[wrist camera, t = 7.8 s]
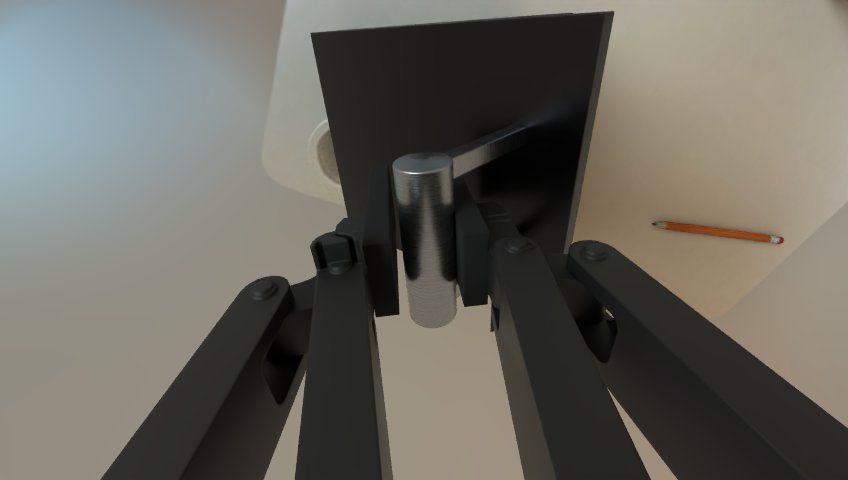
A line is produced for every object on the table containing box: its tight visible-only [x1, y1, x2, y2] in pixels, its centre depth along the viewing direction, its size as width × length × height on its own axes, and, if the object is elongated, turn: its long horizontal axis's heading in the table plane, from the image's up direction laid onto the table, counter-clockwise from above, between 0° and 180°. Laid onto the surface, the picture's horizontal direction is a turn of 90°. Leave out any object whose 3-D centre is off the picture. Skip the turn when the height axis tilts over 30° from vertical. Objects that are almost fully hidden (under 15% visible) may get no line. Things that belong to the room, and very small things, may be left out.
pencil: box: [652, 222, 784, 244], centre depth 43 cm, size 1×19×1 cm, turn 80°
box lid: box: [311, 11, 614, 328], centre depth 17 cm, size 17×13×7 cm
